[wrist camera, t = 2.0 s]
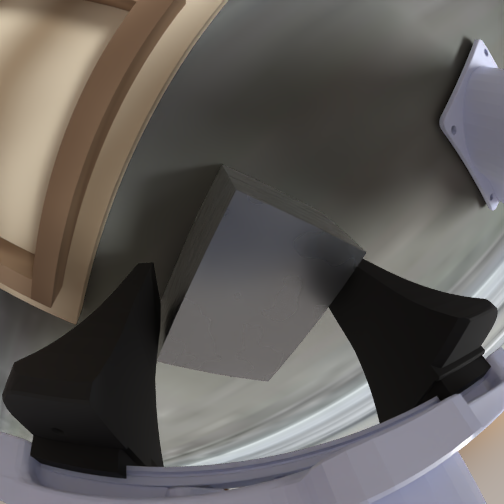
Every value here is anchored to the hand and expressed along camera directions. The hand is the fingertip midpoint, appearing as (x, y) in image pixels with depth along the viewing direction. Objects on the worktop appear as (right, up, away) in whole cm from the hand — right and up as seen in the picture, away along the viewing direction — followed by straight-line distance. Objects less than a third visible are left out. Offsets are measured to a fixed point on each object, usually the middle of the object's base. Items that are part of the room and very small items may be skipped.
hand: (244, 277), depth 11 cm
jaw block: (0, +1, +2) cm, 2 cm away
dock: (-9, +7, -4) cm, 12 cm away
